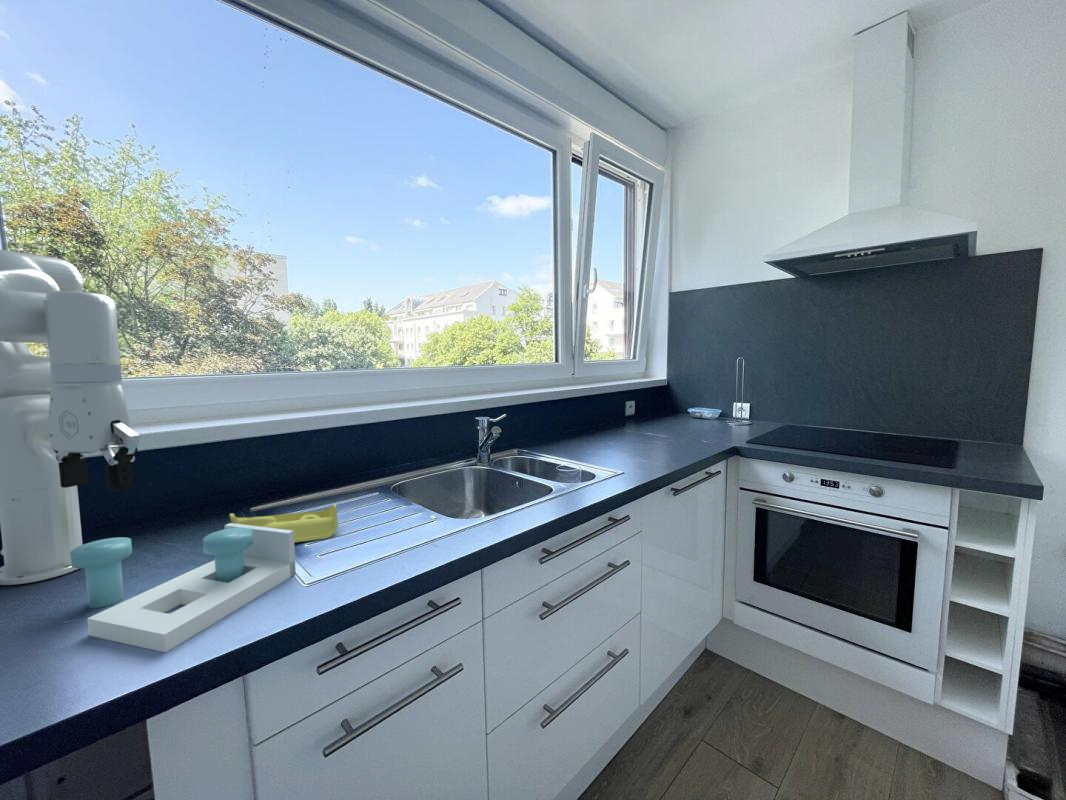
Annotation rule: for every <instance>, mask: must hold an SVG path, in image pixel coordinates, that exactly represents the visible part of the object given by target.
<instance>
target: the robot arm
mask: <svg viewBox="0 0 1066 800" xmlns="http://www.w3.org/2000/svg"><path fill="white" fill-rule="evenodd" d="M83 290H84V282H83V277H82V275H81V273H80V271H79V270H78V268H76V266H74V265H73V264H72V263H71V262H69V261H68V260H65V259H62V258H58V257H52V256H47V255H46V256H45V255H40V254H34V253H33V254H32V253H29V252H28V253H26V252H19V251H13V250H5V249H0V532H1V533H0V534H1V542H2V548H1V550H0V555H1V556H3V562H4V565H2V566H0V586H12V585H13V586H15V585H23V584H29V583H36V582H40V581H45V580H49V579H52V578H57V577H59V576H63V575H66V574H69V573H72V572H74V570H75V571H77V570H79V569H80V568H73V567H72V566H71V555H70V552H71V551H72V550H73V549H74V548H76V547H78V546H81V545H83V536H82V535H83V534H82V524H81V513H80V502H79V493H78V492H79V491H78V486H81V485H86V484H88V483H89V470H88V461H87V460H88V459H87V458H86V457H84V455H85V454H95V453H98V452H100V453H101V454H102V455H103V457H104V458H105V460H106V461H107V463H108V465H105V466H104V468H105V477H106V480H105V481H106V489H107V490H106V491H107V492H109V493H113V492H118V491H122V490H123V491H124V490H127V489H130V488H133V487H134V486H135V478H134V469H133V468H134V467H133V465H134V464H133V462H135V460H136V457H135V456H136V454H137V453H138V445H139V443H140V439H141V438H140V437H141V436H140V434H139V433H137V432H136V431H134V430H133V429H131V423H130V418H129V411H128V406H127V401H126V396H125V392H124V389H123V386H122V385H123V376H122V364H121V354H120V341H119V331H118V330H119V328H118V327H119V326H118V317H117V306H116V303H115V301H114V299H112V298H111V297H109V296H108V295H105V294H101V293H95V292H88V291H83ZM25 343H31V344H32V343H33V344H34V343H39V344H47V347H48V356H40V355H33V354H32V353H31V350H30V349H29V348H28V346H27V345H26V344H25ZM114 452H116V454H115V453H114Z"/></svg>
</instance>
